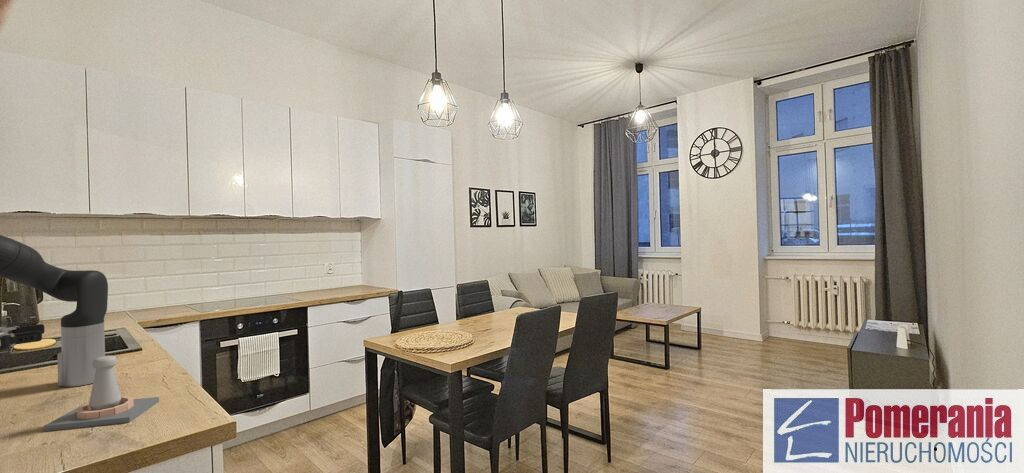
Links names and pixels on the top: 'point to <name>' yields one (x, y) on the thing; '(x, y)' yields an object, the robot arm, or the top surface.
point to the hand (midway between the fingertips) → (43, 332)
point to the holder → (103, 414)
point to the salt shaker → (104, 384)
